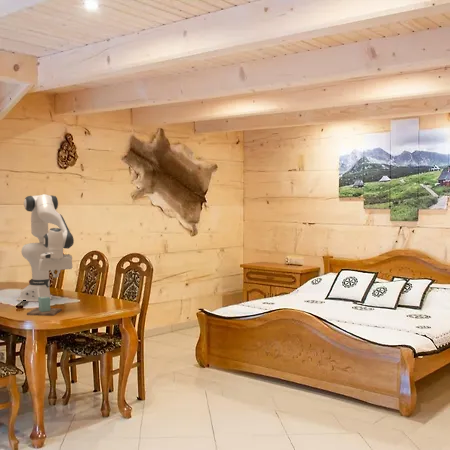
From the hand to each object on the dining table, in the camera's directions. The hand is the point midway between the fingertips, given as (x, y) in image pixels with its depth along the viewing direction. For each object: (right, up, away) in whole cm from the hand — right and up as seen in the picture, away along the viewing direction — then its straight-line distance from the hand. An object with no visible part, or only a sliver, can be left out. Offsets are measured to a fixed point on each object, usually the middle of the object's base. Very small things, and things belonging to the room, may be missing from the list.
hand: (55, 277), depth 370 cm
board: (-6, -21, -4) cm, 22 cm away
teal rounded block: (-6, -20, -4) cm, 21 cm away
